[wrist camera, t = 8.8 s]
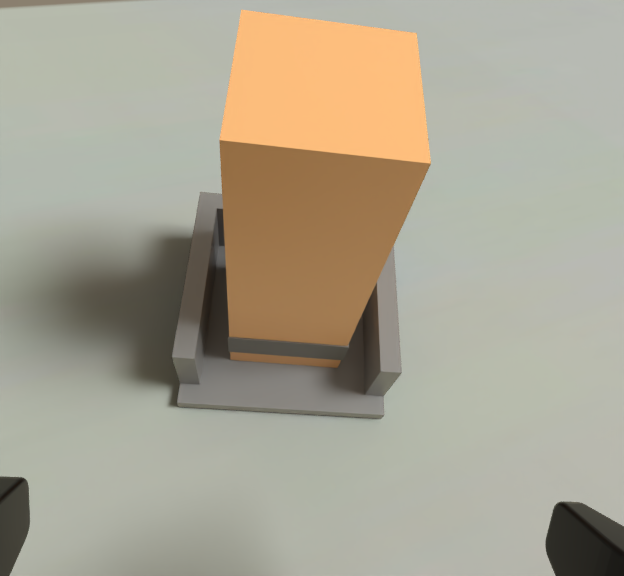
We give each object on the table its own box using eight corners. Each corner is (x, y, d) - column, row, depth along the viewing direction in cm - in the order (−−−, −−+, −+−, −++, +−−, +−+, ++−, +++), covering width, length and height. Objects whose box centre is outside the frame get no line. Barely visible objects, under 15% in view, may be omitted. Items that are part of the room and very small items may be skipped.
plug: (338, 369, 19) (433, 165, 10) (228, 361, 19) (216, 141, 9) (339, 275, 21) (418, 31, 12) (240, 266, 21) (239, 7, 11)
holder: (380, 418, 19) (403, 393, 16) (178, 406, 18) (168, 378, 16) (374, 252, 23) (391, 210, 20) (205, 237, 22) (200, 191, 19)
